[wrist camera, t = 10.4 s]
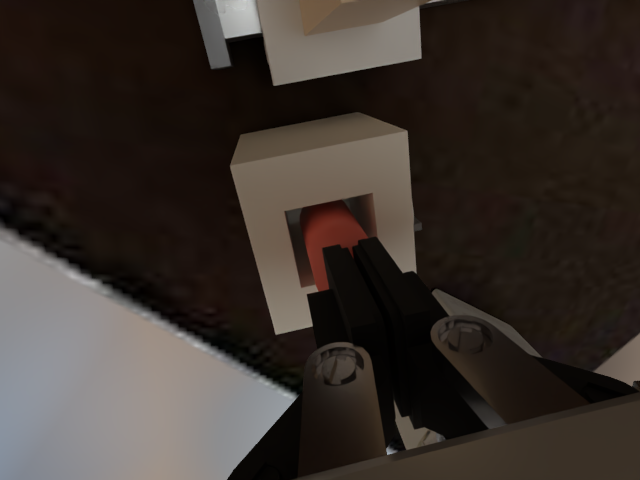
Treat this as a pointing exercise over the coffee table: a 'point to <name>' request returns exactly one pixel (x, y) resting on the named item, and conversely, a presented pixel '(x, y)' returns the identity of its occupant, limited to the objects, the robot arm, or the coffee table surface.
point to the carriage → (337, 36)
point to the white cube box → (321, 198)
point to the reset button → (328, 234)
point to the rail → (238, 26)
